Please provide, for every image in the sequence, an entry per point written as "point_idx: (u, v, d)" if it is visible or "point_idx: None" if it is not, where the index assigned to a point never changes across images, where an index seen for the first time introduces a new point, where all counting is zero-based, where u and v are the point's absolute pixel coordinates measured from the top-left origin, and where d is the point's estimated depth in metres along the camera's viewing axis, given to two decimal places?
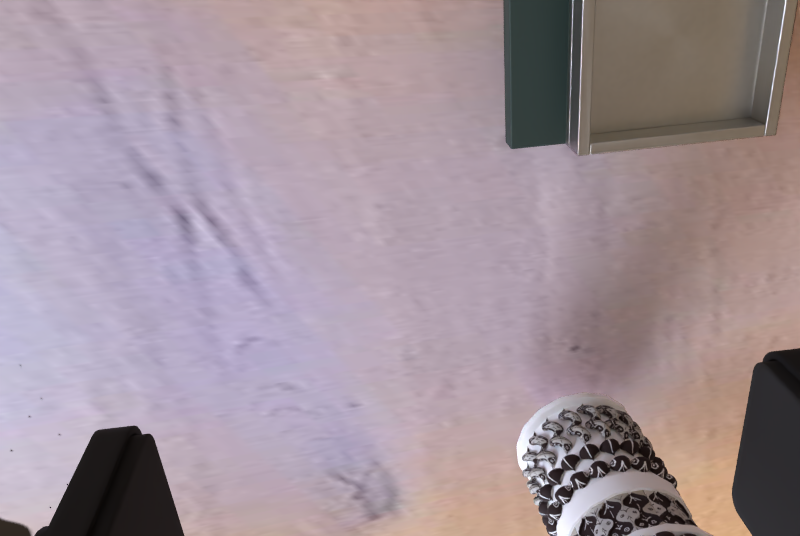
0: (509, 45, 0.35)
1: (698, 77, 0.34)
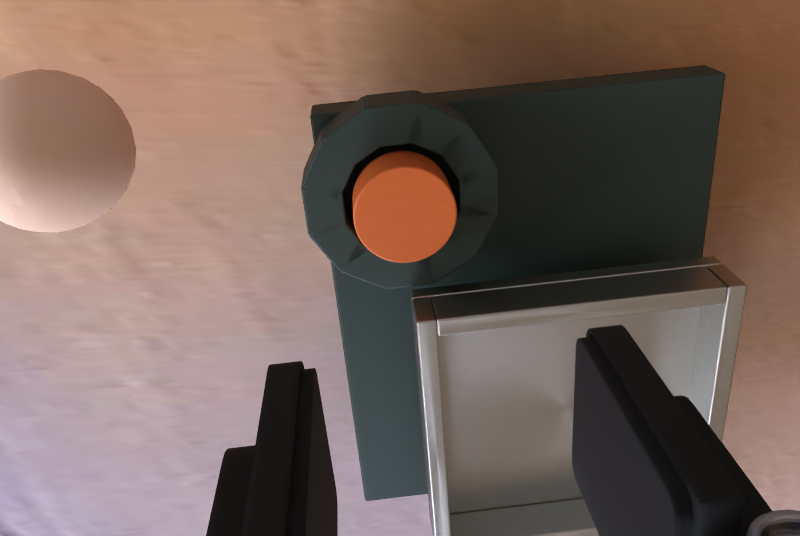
0: (350, 392, 0.26)
1: None
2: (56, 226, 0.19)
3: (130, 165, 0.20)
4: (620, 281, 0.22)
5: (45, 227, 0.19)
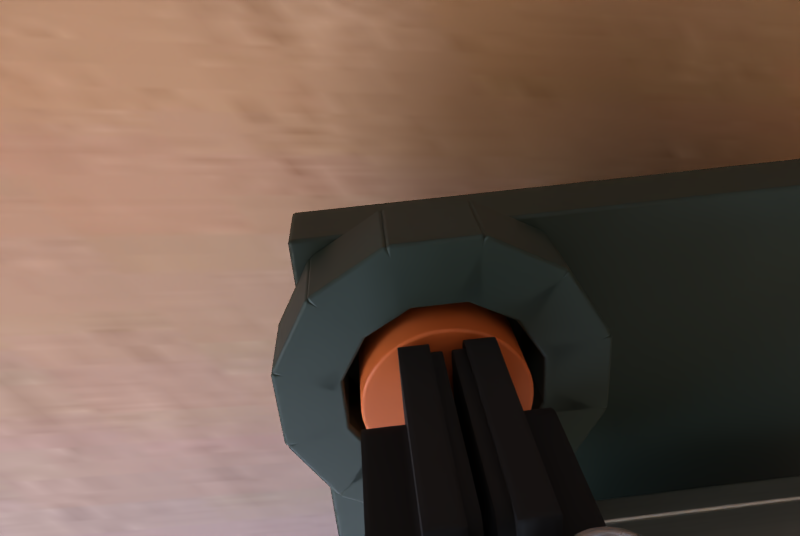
0: None
1: None
2: None
3: None
4: None
5: None
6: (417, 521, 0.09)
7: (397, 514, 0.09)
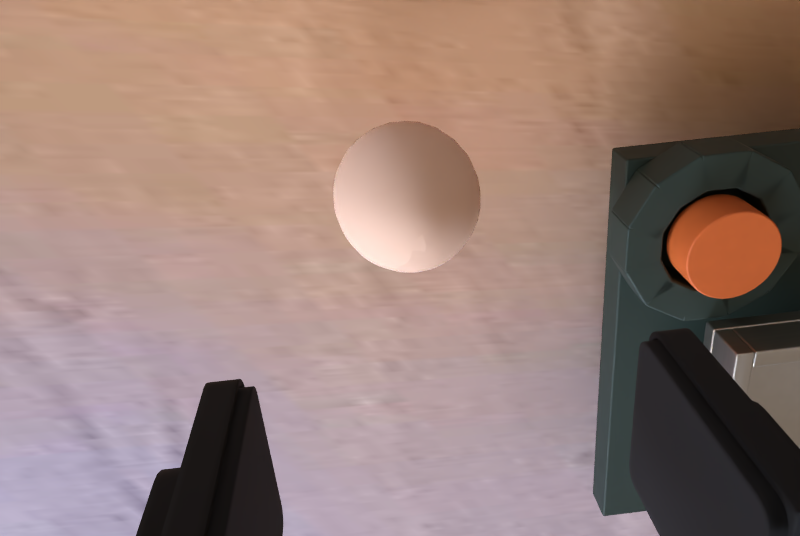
0: (608, 414, 0.27)
1: None
2: (430, 268, 0.20)
3: None
4: None
5: (423, 269, 0.20)
6: None
7: None
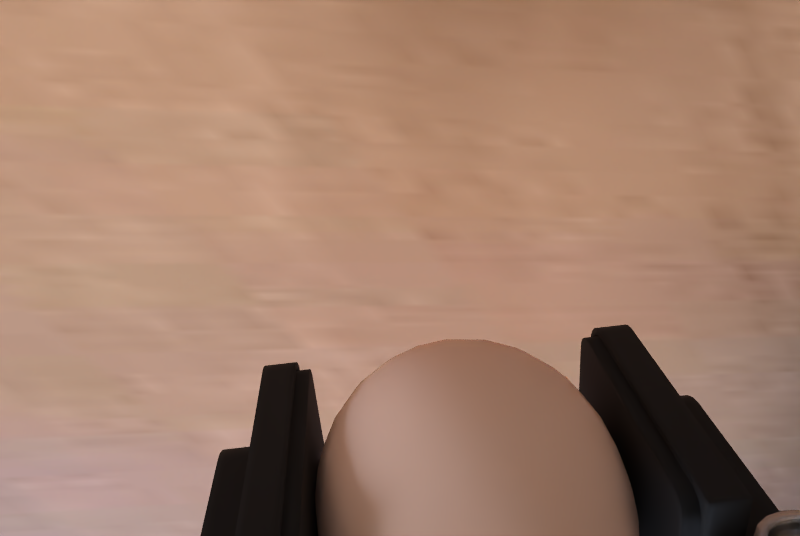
0: None
1: None
2: None
3: None
4: None
5: None
6: None
7: None
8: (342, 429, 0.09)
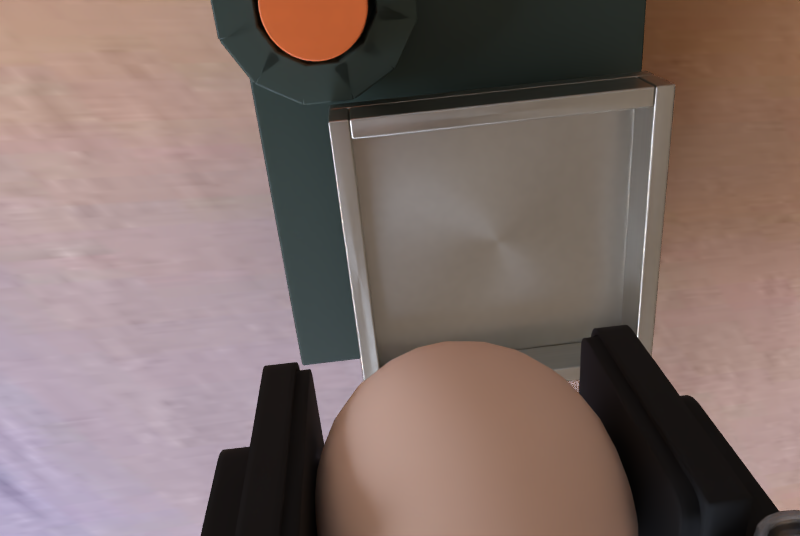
0: (280, 240, 0.25)
1: (539, 291, 0.24)
2: None
3: None
4: (546, 89, 0.21)
5: None
6: None
7: None
8: (342, 431, 0.10)
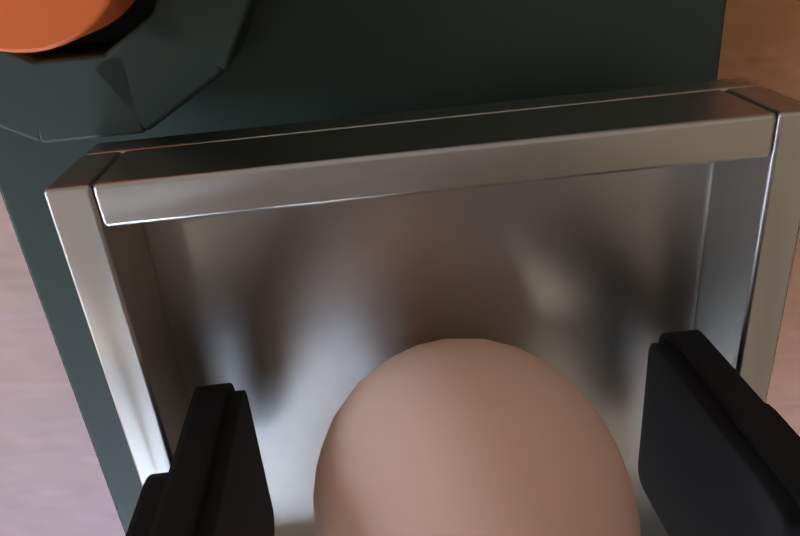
0: (68, 371, 0.14)
1: None
2: None
3: None
4: (536, 115, 0.10)
5: None
6: None
7: None
8: (340, 429, 0.09)
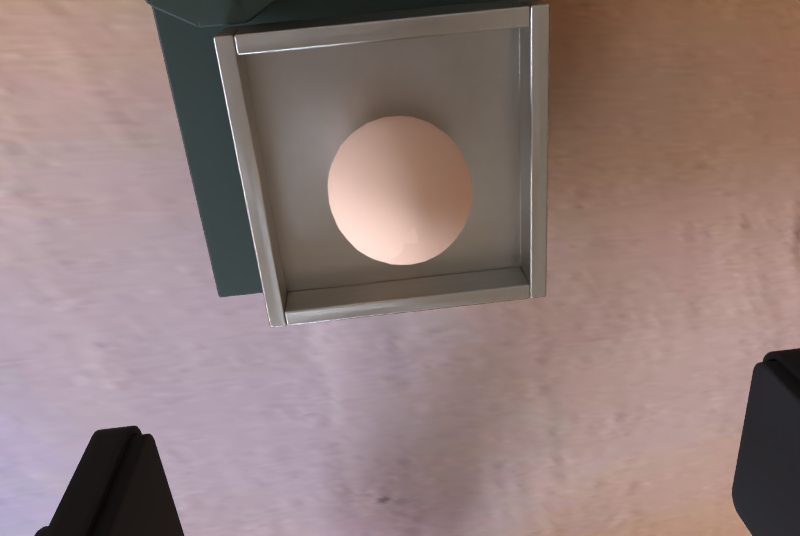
0: (190, 169, 0.26)
1: None
2: (422, 260, 0.20)
3: None
4: (429, 11, 0.21)
5: (415, 261, 0.20)
6: None
7: None
8: (340, 149, 0.21)
